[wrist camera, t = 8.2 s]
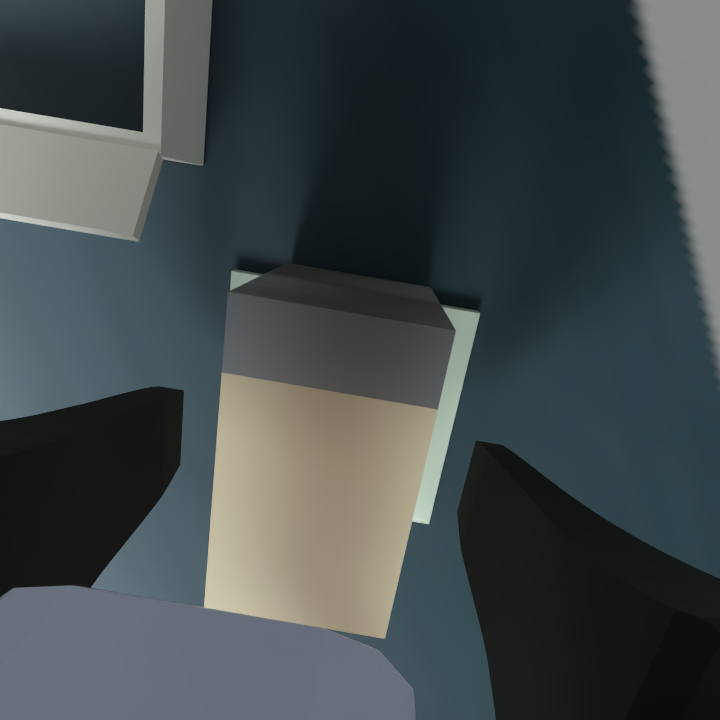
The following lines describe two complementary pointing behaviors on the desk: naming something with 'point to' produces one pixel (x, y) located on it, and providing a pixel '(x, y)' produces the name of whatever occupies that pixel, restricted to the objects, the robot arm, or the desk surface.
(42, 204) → the white flat frame
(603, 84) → the desk surface
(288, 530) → the block
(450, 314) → the pad
